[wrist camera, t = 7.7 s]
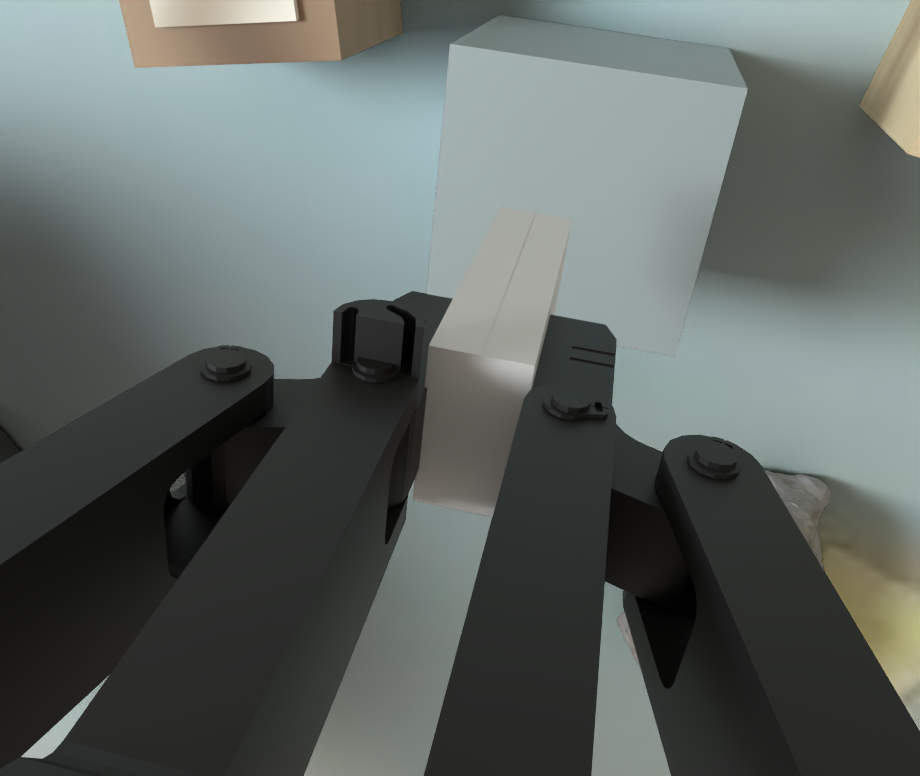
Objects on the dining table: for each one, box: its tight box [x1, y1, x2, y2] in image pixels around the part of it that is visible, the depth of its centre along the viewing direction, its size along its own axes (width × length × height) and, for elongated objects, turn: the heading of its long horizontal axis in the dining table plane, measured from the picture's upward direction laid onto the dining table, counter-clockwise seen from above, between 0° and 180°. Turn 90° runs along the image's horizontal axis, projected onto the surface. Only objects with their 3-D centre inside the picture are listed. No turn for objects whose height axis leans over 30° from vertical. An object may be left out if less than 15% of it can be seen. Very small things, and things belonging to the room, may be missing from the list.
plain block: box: [426, 15, 748, 357], centre depth 24 cm, size 7×7×7 cm
